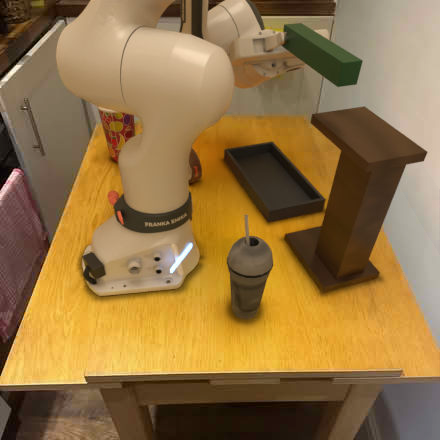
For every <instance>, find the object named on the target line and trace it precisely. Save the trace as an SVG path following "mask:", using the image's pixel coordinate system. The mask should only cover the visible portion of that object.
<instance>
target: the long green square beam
mask: <svg viewBox="0 0 440 440" xmlns="http://www.w3.org/2000/svg"><path fill="white" fill-rule="evenodd" d="M285 31H287V32H288V37H289V41H288V43H286V44H285V45H282V47H284V48H285V49H286V50H288V51H289V52H290V53H292V54H293V55H295V56H296V57H297V58H299V59H300V60H301V61H303V62H304V63H305V64H306V65H307V66H308V67H310V68H311V69H312V70H313V71H315V72H316V73H318V74H319V75H321V77H323V78H325V79H326V80H327V81H329V82H330V83H331V84H333V85H334V86H335V87H336V88H341V87H349V86H356V85H358V81H359V77H360V73H361V69H362V66H363V59H361V58H360V57H358V56H356V55H355V54H353V53H351V52H349V51H348V50H346V49H345V48H344V47H341V46H340V45H338V44H336V43H335V42H333V41H332V40H328V39H327V38H325V37H323V36H322V35H320V34H318V33H317V32H315V31H313V29H312V28H311V27H309V26H307V25H305V24H304V23H302V22H298V23H297V22H295V23H285V24H283V30H282V32H285Z"/></svg>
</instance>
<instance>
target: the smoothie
mask: <svg viewBox="0 0 440 440" xmlns="http://www.w3.org/2000/svg"><path fill="white" fill-rule="evenodd" d="M96 107H97V111H98V114H99V118H100V121H101V125H102V129H103V133H104V137H105V141H106V146H107V149H108V152H109V153H108V154H109V156H110V157H111V158H112V160H113V161H114V162H117V163H118V157H119V153H120V151H121V149H122V147H123V145H124V144H125V143H126V142H127V141H128V140H129V139H130V138H132V137H134V136H136V124H135V115H131V114H127V113H122V112H118V111H114V110H110V109H105V108H101V107H98V106H96Z"/></svg>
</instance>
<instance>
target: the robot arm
mask: <svg viewBox="0 0 440 440" xmlns="http://www.w3.org/2000/svg"><path fill="white" fill-rule="evenodd" d="M174 2H176V0H90V1H89V2H88V4H87V5H86V7H85V8H84V9H83V10H82V12H81V13H80V14H79V15H78V16H77V17H76V18H75V19H74V20H72V21H71V22H70V23H69V24H67V25H66V26H65V27H64V28H63V30H62V31H61V33H60V35H59V38H58V40H57V44H56V49H55V63H56V68H57V72H58V76H59V78H60V80H61V82H62V84H63V85H64V87H65V89H66V90H68V91H69V92H70V93H71V94H72V95H74V96H76V97H77V98H80V99H81V100H83V101H85V102H87V103H89V104H91V105H94V106H96V107H97V106H98V107H101V108H105V109H110V110H114V111H118V112H122V113H127V114H131V115H134V117H137V118H139V121H140V123H141V126H142V127H141V128H142V132H140V133H138V134H135V136H134V137H132V138H130V139H129V140H128V141H127V142H126V143H125V144H124V145H123V147H122V149H121V151H120V153H119V157H118V162H117V165H118V170H119V177H120V182H121V187H122V194H121V196H120V194H119V192H118V191H116V190H110V191H108V193H107V199H108V202H109V204H110V205H111V206H113V211H114V212H113V213H114V214H112V215H111V216H109V218H107V219H106V220H105V221H104V222H102V223H101V224H100V225H99V226H97V227H96V228H95V230H94V231H93V233H92V237H91V244H89V245H87V246H86V248H85V249H84V252H83V255H81V258H82V259H81V260H82V261H81V265H82V272H83V275H82V276H83V278H84V280H85V282H86V285H87V286H88V288H89V289H90V290H91V291H92V292H93V293H94V294H95V295H97V296H99V297H106V296H115V295H117V296H118V295H127V294H137V293H138V294H139V293H146V292H156V291H166V290H167V291H168V290H176V289H179V288H181V286H183V283H184V281H185V279H186V277H187V276H188V275H189V274H190V273H191V272H192V271H193V270H194V269H196V266H197V265H198V263H199V261H200V255H201V253H200V249H199V247H198V244H197V242H196V238H195V235H194V229H193V224H192V221H193V214H194V206H193V197H192V192H191V191H190V187H189V184H190V183H189V156H190V152H191V149H192V148H193V146H194V143H195V142H196V140H197V139H198V138H199V136H200V135H201V134H202V133H203V132H204V131H206V130H207V129H209V128H211V127H213V126H214V125H216V124H217V123H218V122H220V121H221V119H222V118H223V117H224V116H225V114H226V113H227V111H228V109H230V106H231V103H232V100H233V97H234V94H235V88H238V89H244V90H245V89H250V88H254V87H256V86H259V85H260V84H263V82H266V81H267V82H268V81H269V80H270V79H272V78H274V77H278V76H280V75H282V74H284V73H289V72H292V71H293V72H294V71H296V70H297V71H298V70H300V69H303V68H305V67H306V65H307V64H305V63H304V62H303V61H301V60H300V59H299V58H297V57H296V56H295V55H293V54H292V53H290V52H289V51H288V50H286V49H285V48H284V47H282V45H285V44H286V43H288V41H289V37H288V32H287V31H285V32H283V31H276V30H273V29H266V27H265V24H264V20H263V17H262V15H261V13H260V11H259V10H258V8H257V6H256V4H255V3H254V2H252V1H251V0H223V1H221V2H219V3H218V4H216V6H214V7H212V8H211V9H209V0H180V1H179V2H180V26H179V31H173V30H169V29H168V30H167V29H163V28H162V29H161V28H157V27H158V23H159V21H160V19H161V17H162V15H163V14H164V12H166V9H167V8H168V7H169V6H170V5H172V4H173V3H174ZM312 30H313V29H312ZM313 31H315V32H317V33H318V34H320V35H322V36H323V37H325V38H327V39H328V40H330V32H329V30H328V29H327V28H322V29H314V30H313ZM330 41H331V40H330ZM98 107H97V108H98Z"/></svg>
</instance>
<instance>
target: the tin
mask: <svg viewBox="0 0 440 440" xmlns="http://www.w3.org/2000/svg"><path fill="white" fill-rule="evenodd" d="M202 167H203V166H202V163H201V160H200V158H199V155H198V153H197V152H196V150H195V149H194V148H193V147H192V149H191V152H190V156H189V184H191V183H194V182H196V181H200V180H201V179H202V177H203V168H202Z"/></svg>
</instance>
